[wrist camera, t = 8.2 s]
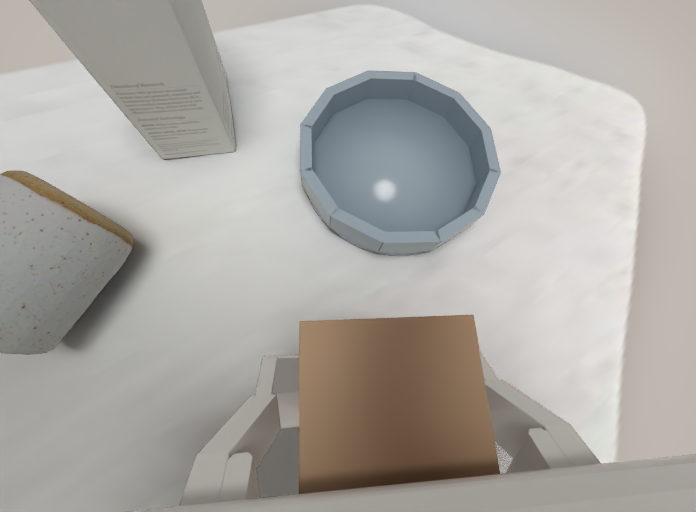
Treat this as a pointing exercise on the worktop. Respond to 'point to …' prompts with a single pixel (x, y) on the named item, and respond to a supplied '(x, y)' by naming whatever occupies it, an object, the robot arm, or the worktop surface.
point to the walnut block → (391, 403)
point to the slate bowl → (396, 162)
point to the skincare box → (153, 68)
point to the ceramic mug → (50, 261)
